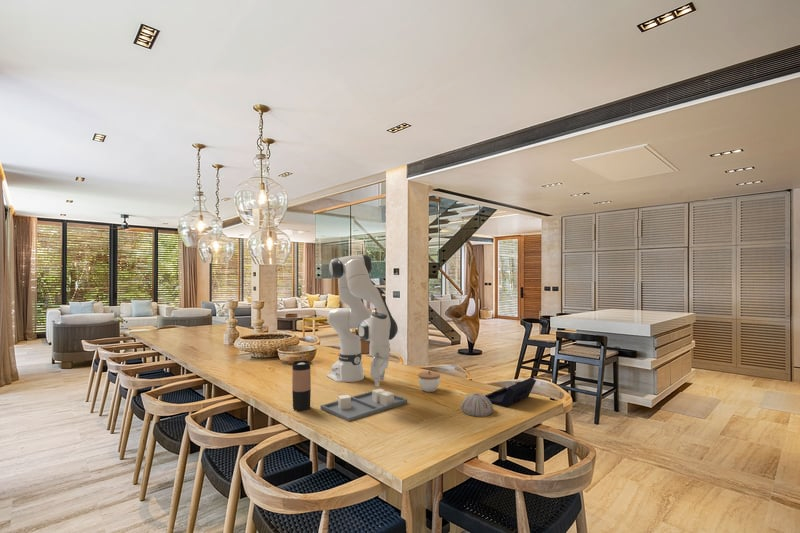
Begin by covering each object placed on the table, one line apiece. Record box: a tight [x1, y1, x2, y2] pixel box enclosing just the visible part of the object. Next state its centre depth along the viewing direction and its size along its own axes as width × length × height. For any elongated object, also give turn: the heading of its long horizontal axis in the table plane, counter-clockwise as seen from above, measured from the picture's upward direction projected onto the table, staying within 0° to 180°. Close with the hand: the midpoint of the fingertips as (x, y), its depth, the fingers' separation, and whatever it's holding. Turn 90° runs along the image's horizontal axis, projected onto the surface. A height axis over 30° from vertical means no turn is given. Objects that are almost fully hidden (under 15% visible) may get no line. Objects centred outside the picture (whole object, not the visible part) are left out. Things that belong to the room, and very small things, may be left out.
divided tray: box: [320, 390, 408, 423], centre depth 173 cm, size 20×32×2 cm, turn 133°
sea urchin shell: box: [460, 393, 494, 417], centre depth 165 cm, size 13×14×8 cm
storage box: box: [484, 377, 537, 409], centre depth 180 cm, size 21×16×10 cm
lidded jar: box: [417, 370, 441, 393], centre depth 197 cm, size 11×11×9 cm
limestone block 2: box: [371, 388, 386, 403], centre depth 178 cm, size 4×4×4 cm
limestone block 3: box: [380, 390, 395, 406], centre depth 174 cm, size 4×4×4 cm
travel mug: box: [291, 360, 312, 412], centre depth 171 cm, size 8×8×20 cm
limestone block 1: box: [337, 394, 352, 410], centre depth 170 cm, size 4×4×4 cm
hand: (379, 383), depth 173 cm, fingers open, 8 cm apart
